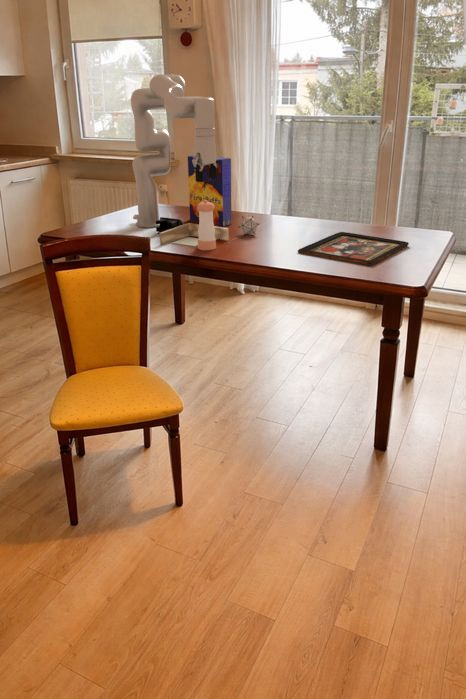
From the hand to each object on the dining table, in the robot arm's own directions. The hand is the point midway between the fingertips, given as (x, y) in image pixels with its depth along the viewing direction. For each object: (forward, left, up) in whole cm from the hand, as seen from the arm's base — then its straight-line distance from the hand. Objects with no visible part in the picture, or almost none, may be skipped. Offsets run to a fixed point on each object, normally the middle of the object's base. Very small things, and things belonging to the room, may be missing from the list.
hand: (206, 180), depth 229 cm
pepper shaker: (0, -1, -27) cm, 27 cm away
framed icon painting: (+53, +25, -28) cm, 65 cm away
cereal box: (-24, +40, -27) cm, 54 cm away
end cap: (-28, +12, -27) cm, 41 cm away
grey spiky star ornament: (+4, +27, -27) cm, 38 cm away
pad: (-11, +4, -27) cm, 29 cm away
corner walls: (-9, +5, -27) cm, 29 cm away
